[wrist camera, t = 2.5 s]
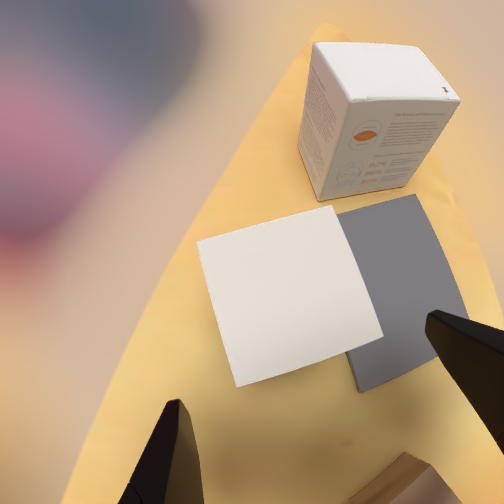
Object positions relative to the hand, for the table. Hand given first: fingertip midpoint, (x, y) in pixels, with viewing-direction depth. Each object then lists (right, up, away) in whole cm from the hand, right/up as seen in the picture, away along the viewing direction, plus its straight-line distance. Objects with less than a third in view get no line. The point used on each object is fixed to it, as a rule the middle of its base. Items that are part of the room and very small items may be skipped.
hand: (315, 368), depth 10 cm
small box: (+6, +11, +15) cm, 19 cm away
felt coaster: (+8, +1, +11) cm, 14 cm away
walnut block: (+8, -13, +6) cm, 17 cm away
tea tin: (-1, -1, +10) cm, 10 cm away
